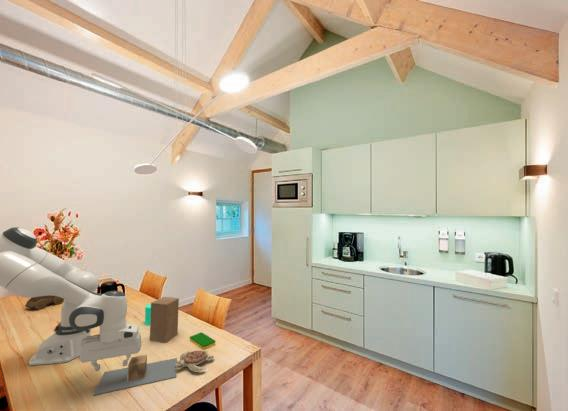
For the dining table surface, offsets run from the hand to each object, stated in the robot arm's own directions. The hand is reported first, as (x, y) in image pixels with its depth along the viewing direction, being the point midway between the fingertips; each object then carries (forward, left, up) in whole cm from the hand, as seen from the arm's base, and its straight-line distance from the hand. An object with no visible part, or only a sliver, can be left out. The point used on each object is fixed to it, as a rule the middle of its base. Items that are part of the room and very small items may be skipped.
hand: (111, 367), depth 98 cm
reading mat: (+10, 0, -5) cm, 11 cm away
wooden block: (+17, +31, -6) cm, 36 cm away
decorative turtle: (+31, 0, -5) cm, 32 cm away
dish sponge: (+36, +18, -6) cm, 41 cm away
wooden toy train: (-64, +110, -6) cm, 127 cm away
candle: (+8, +53, -6) cm, 54 cm away
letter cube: (+6, 0, -2) cm, 6 cm away
